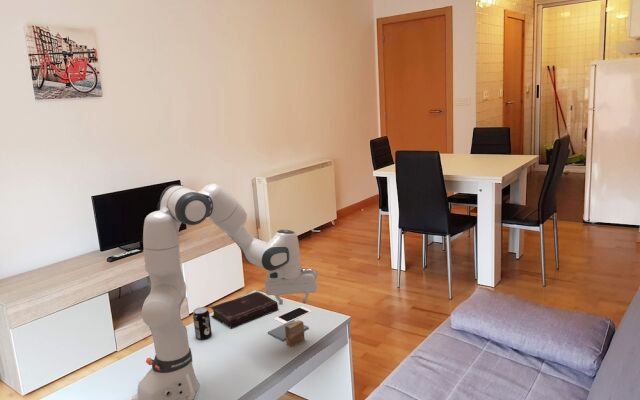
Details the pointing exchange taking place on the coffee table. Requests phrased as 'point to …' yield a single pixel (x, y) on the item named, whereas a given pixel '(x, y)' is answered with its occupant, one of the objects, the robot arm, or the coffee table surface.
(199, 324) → the beverage can
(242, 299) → the diary
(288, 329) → the wooden block
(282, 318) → the cell phone
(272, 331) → the mat
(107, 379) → the coffee table surface
